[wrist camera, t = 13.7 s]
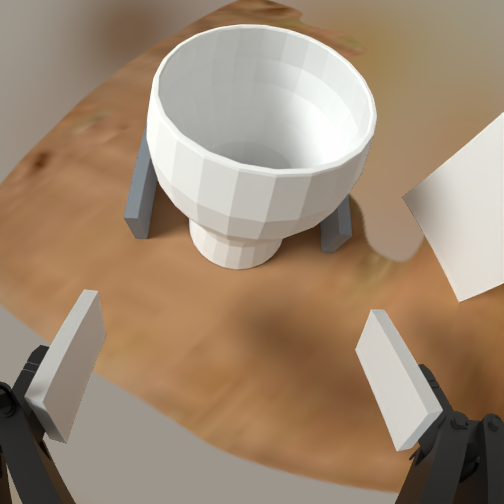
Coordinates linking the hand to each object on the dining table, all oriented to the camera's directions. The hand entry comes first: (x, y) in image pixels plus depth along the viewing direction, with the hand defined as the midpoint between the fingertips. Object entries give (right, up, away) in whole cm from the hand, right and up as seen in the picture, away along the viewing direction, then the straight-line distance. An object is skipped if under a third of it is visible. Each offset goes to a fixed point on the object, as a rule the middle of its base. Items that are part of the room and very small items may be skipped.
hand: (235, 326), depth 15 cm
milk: (+23, +6, +15) cm, 28 cm away
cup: (0, +6, +11) cm, 13 cm away
